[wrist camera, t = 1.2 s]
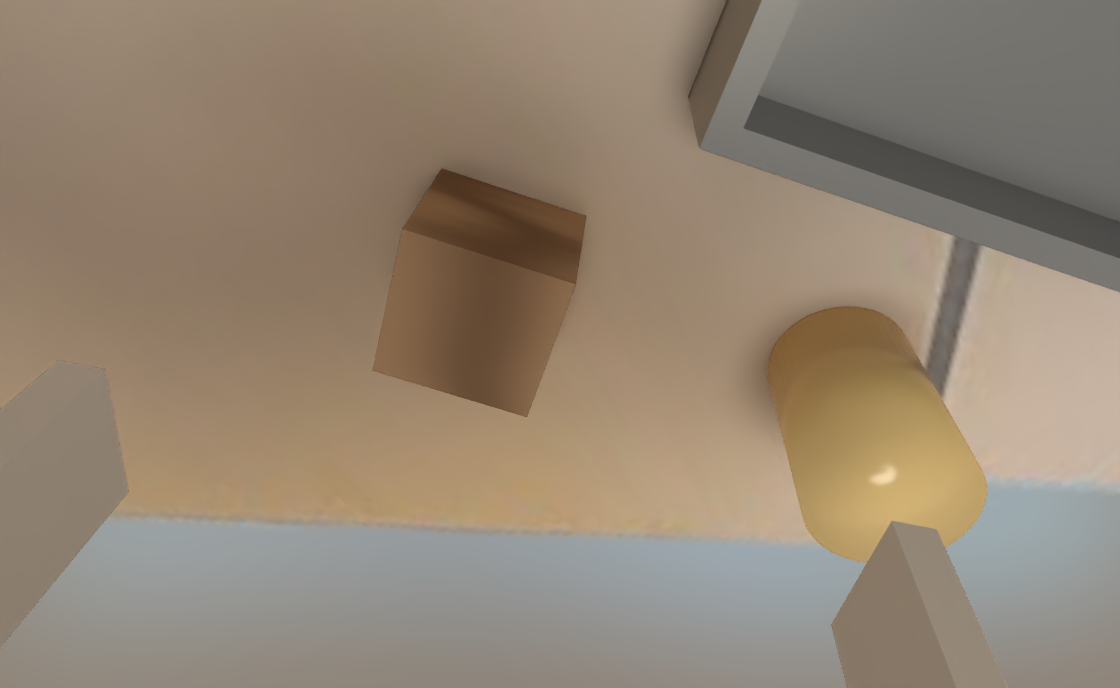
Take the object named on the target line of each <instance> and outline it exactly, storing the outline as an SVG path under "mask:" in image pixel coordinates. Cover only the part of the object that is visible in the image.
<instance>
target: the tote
mask: <svg viewBox="0 0 1120 688" xmlns="http://www.w3.org/2000/svg"><path fill="white" fill-rule="evenodd" d="M688 98H689V103H690V108H691V112H692V117H693V122H694V127H695V131H696V136H697V141H698V145H699V149H702V150H705V151H708V152H711V153H714V154H717V155H719V156H722V157H725V158H728V159H731V160H734V161H737V162H740V163H743V164H746V165H749V166H752V167H755V168H758V169H760V170H763V171H766V172H769V173H772V174H775V175H778V176H781V177H784V178H787V179H790V180H793V181H796V182H799V183H801V184H804V185H807V186H810V187H813V188H816V189H819V190H822V191H825V192H828V193H831V194H834V195H837V196H840V197H842V198H845V199H848V200H851V201H854V202H857V203H860V204H863V205H866V206H869V207H872V208H875V209H878V210H881V211H883V212H886V213H889V214H892V215H895V216H898V217H901V218H904V219H907V220H910V221H913V222H916V223H919V224H922V225H924V226H927V227H930V228H933V229H936V230H939V231H942V232H945V233H948V234H951V235H954V236H957V237H960V238H963V239H965V240H968V241H971V242H974V243H977V244H980V245H983V246H986V247H989V248H992V249H995V250H998V251H1001V252H1004V253H1006V254H1009V255H1012V256H1015V257H1018V258H1021V259H1024V260H1027V261H1030V262H1033V263H1036V264H1039V265H1042V266H1045V267H1047V268H1050V269H1053V270H1056V271H1059V272H1062V273H1065V274H1068V275H1071V276H1074V277H1077V278H1080V279H1083V280H1086V281H1088V282H1091V283H1094V284H1097V285H1100V286H1103V287H1106V288H1109V289H1112V290H1115V291H1118V292H1120V0H727V1H726V3H725V6H724V8H723V11H722V13H721V16H720V18H719V21H718V23H717V26H716V28H715V31H714V33H713V36H712V38H711V41H710V43H709V46H708V48H707V51H706V53H705V56H704V58H703V61H702V63H701V66H700V69H699V71H698V74H697V76H696V79H695V81H694V84H693V86H692V89H691V91H690V94H689V96H688Z"/></svg>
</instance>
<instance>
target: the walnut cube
mask: <svg viewBox="0 0 1120 688" xmlns="http://www.w3.org/2000/svg"><path fill="white" fill-rule="evenodd" d="M585 220H586V216H585V215H581V214H578V213H575V212H572V211H569V210H566V209H563V208H560V207H557V206H554V205H551V204H548V203H545V202H542V201H539V200H536V199H533V198H530V197H527V196H524V195H521V194H518V193H515V192H511V191H508V190H505V189H502V188H499V187H496V186H493V185H490V184H487V183H484V182H481V181H478V180H475V179H472V178H469V177H466V176H463V175H460V174H457V173H454V172H451V171H448V170H445V169H441V171H440V172H439V174H438V175H437V177H436V178H435V180H434V181H433V183H432V185H431V186H430V188H429V189H428V191H427V192H426V194H425V195H424V197H423V198H422V200H421V201H420V203H419V204H418V206H417V207H416V209H415V210H414V212H413V213H412V215H411V216H410V218H409V220H408V221H407V223H406V224H405V226H404V227H403V229H402V233H401V237H400V242H399V247H398V252H397V256H396V261H395V266H394V271H393V275H392V280H391V285H390V290H389V294H388V299H387V304H386V309H385V313H384V318H383V323H382V328H381V332H380V337H379V342H378V347H377V351H376V356H375V361H374V366H373V370H372V371H375V372H379V373H382V374H385V375H389V376H392V377H395V378H399V379H402V380H405V381H409V382H412V383H415V384H419V385H422V386H425V387H429V388H432V389H435V390H439V391H442V392H445V393H449V394H452V395H455V396H458V397H462V398H465V399H468V400H472V401H475V402H478V403H482V404H485V405H488V406H492V407H495V408H498V409H502V410H505V411H508V412H512V413H515V414H518V415H522V416H525V417H527V416H528V413H529V410H530V408H531V405H532V402H533V399H534V397H535V394H536V391H537V389H538V386H539V383H540V380H541V378H542V375H543V372H544V370H545V367H546V364H547V361H548V359H549V356H550V353H551V351H552V348H553V345H554V342H555V340H556V337H557V334H558V332H559V329H560V326H561V323H562V321H563V318H564V315H565V312H566V310H567V307H568V304H569V302H570V299H571V296H572V293H573V291H574V288H575V285H576V280H577V273H578V267H579V260H580V253H581V247H582V240H583V234H584V227H585Z"/></svg>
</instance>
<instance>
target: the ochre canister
mask: <svg viewBox="0 0 1120 688" xmlns="http://www.w3.org/2000/svg"><path fill="white" fill-rule="evenodd" d="M767 371H768V381H769V385H770V389H771V393H772V397H773V401H774V405H775V409H776V413H777V417H778V421H779V425H780V429H781V433H782V437H783V441H784V445H785V449H786V453H787V456H788V460H789V464H790V468H791V472H792V476H793V480H794V484H795V488H796V492H797V496H798V500H799V504H800V508H801V512H802V516H803V520H804V522H805V525H806V527H807V529H808V531H809V533H810V534H811V535H812V537H813V538H814V539H815V540H816V541H817V542H818V543H819V544H820V545H822V546H823V547H824V548H826V549H827V550H829V551H830V552H832V553H835V554H837V555H839V556H841V557H844V558H847V559H850V560H854V561H858V562H866V563H867V562H868V560H869V559H870V557H871V555H872V554H873V552H874V550H875V548H876V547H877V545H878V543H879V542H880V540H881V538H882V536H883V535H884V533H885V531H886V530H887V528H888V526H889V524H890V523H891V521H897V522H902V523H907V524H912V525H917V526H923V527H928V528H933V529H937V531H938V533H939V535H940V538H941V540H942V542H943V544H944V546H945V547H947V546H949V545H950V544H952V543H954V542H955V541H956V540H958V539H959V538H960V537H962V536H963V535H964V534H965V533H966V532H967V531H968V530H969V529H970V528H971V527H972V526H973V525H974V523H975V522H976V521H977V519H978V517H979V516H980V514H981V512H982V510H983V508H984V505H985V501H986V496H987V484H986V479H985V476H984V473H983V471H982V469H981V467H980V465H979V463H978V462H977V460H976V458H975V456H974V455H973V453H972V451H971V449H970V448H969V446H968V444H967V442H966V441H965V439H964V437H963V435H962V434H961V432H960V430H959V428H958V427H957V425H956V423H955V421H954V420H953V418H952V416H951V414H950V413H949V411H948V409H947V407H946V406H945V404H944V402H943V400H942V399H941V397H940V395H939V393H938V392H937V390H936V388H935V386H934V385H933V383H932V381H931V379H930V378H929V376H928V374H927V372H926V371H925V369H924V367H923V365H922V364H921V362H920V360H919V358H918V357H917V355H916V353H915V351H914V350H913V348H912V346H911V344H910V343H909V341H908V339H907V337H906V336H905V334H904V333H903V331H902V330H901V328H900V327H899V326H898V325H897V324H896V323H895V322H894V321H892V320H891V319H890V318H888V317H886V316H885V315H883V314H881V313H878V312H876V311H873V310H870V309H866V308H860V307H836V308H831V309H826V310H822V311H819V312H816V313H814V314H811V315H809V316H807V317H805V318H803V319H802V320H800V321H798V322H797V323H795V324H794V325H793V326H791V327H790V328H789V329H788V330H787V331H786V332H785V333H784V334H783V335H782V336H781V337H780V339H779V340H778V341H777V343H776V344H775V346H774V348H773V350H772V352H771V355H770V358H769V361H768V368H767Z"/></svg>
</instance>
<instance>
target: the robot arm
mask: <svg viewBox="0 0 1120 688" xmlns="http://www.w3.org/2000/svg"><path fill="white" fill-rule="evenodd" d="M128 492H129V489H128V484H127V479H126V474H125V468H124V463H123V458H122V453H121V448H120V443H119V437H118V432H117V427H116V422H115V417H114V412H113V406H112V401H111V396H110V391H109V386H108V381H107V375H106V370H105V369H101V368H96V367H91V366H85V365H80V364H75V363H70V362H65V361H59V360H58V361H57V362H56V363H55V364H54V365H52V366H51V367H50V368H49V369H48V370H47V371H45V372H44V373H43V374H42V375H41V376H39V377H38V378H37V379H36V380H35V381H34V382H32V383H31V384H30V385H29V386H28V387H26V388H25V389H24V390H23V391H22V392H20V393H19V394H18V395H17V396H16V397H15V398H13V399H12V400H11V401H10V402H9V403H7V404H6V405H5V406H4V407H3V408H2V409H0V648H1V646H2V645H3V644H4V643H5V642H6V640H7V639H8V638H9V637H10V636H11V634H12V633H13V632H14V631H15V629H16V628H17V627H18V626H19V624H20V623H21V622H22V621H23V620H24V618H25V617H26V616H27V615H28V614H29V612H30V611H31V610H32V609H33V608H34V606H35V605H36V604H37V603H38V601H39V600H40V599H41V598H42V597H43V595H44V594H45V593H46V592H47V590H48V589H49V588H50V587H51V586H52V584H53V583H54V582H55V581H56V579H57V578H58V577H59V576H60V575H61V573H62V572H63V571H64V570H65V568H66V567H67V566H68V565H69V564H70V562H71V561H72V560H73V559H74V557H75V556H76V555H77V554H78V553H79V552H80V550H81V549H82V548H83V546H84V545H85V544H86V543H87V542H88V541H89V539H90V538H91V537H92V535H93V534H94V533H95V532H96V531H97V530H98V528H99V527H100V526H101V525H102V524H103V522H104V521H105V520H106V519H107V517H108V516H109V515H110V514H111V513H112V511H113V510H114V509H115V508H116V506H117V505H118V504H119V503H120V502H121V500H122V499H123V498H124V497H125V496H126V494H127V493H128ZM831 626H832V630H833V634H834V638H835V642H836V646H837V650H838V654H839V658H840V662H841V666H842V670H843V674H844V677H845V681H846V686H847V688H1008V686H1007V684H1006V682H1005V680H1004V678H1003V675H1002V673H1001V671H1000V669H999V666H998V664H997V662H996V660H995V657H994V655H993V653H992V651H991V649H990V646H989V644H988V642H987V640H986V638H985V635H984V633H983V631H982V629H981V626H980V624H979V622H978V620H977V617H976V615H975V613H974V611H973V609H972V606H971V604H970V602H969V600H968V597H967V596H966V593H965V591H964V589H963V587H962V584H961V582H960V580H959V577H958V575H957V573H956V571H955V569H954V566H953V564H952V562H951V560H950V558H949V555H948V553H947V551H946V549H945V546H944V544H943V542H942V540H941V538H940V535H939V533H938V531H937V529H933V528H928V527H923V526H917V525H912V524H907V523H902V522H897V521H891V523H890V524H889V526H888V528H887V530H886V531H885V533H884V535H883V536H882V538H881V540H880V542H879V543H878V545H877V547H876V548H875V550H874V552H873V554H872V555H871V557H870V559H869V560H868V562H867V564H866V566H865V567H864V569H863V571H862V573H861V574H860V576H859V578H858V580H857V581H856V583H855V584H854V586H853V588H852V590H851V592H850V593H849V595H848V596H847V598H846V600H845V602H844V603H843V605H842V607H841V608H840V610H839V612H838V614H837V615H836V617H835V619H834V620H833V622H832V624H831Z"/></svg>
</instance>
